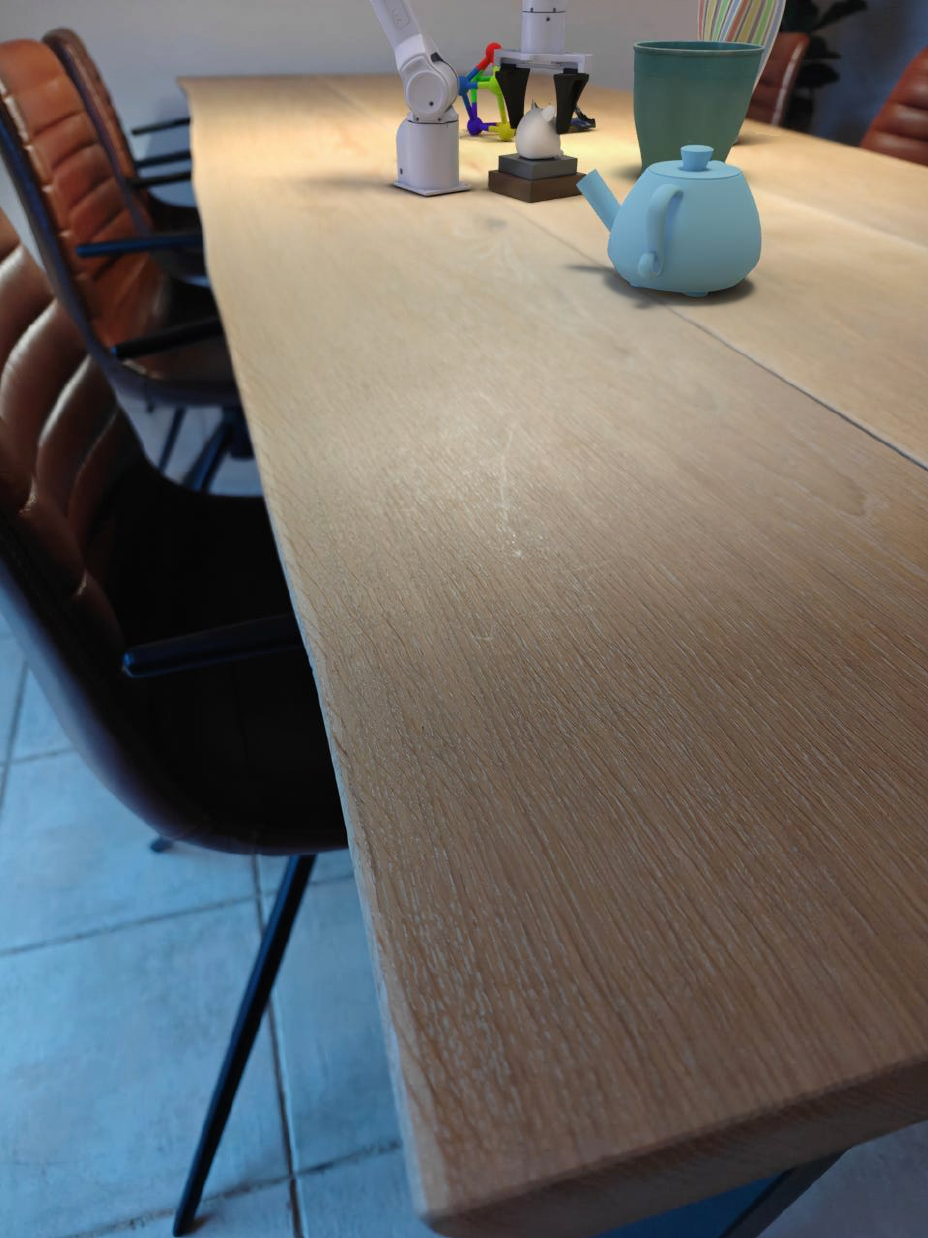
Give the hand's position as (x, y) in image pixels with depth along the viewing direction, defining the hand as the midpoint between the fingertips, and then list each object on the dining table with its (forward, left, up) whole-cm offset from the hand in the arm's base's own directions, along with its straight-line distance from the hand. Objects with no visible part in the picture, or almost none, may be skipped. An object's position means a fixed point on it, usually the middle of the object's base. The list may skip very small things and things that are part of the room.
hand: (539, 130), depth 121 cm
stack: (0, 0, -8) cm, 8 cm away
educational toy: (-41, +21, -8) cm, 47 cm away
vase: (-12, +51, -8) cm, 53 cm away
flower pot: (+5, +24, -8) cm, 26 cm away
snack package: (-40, +38, -8) cm, 56 cm away
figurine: (0, 0, -3) cm, 3 cm away
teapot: (+40, -15, -8) cm, 43 cm away
